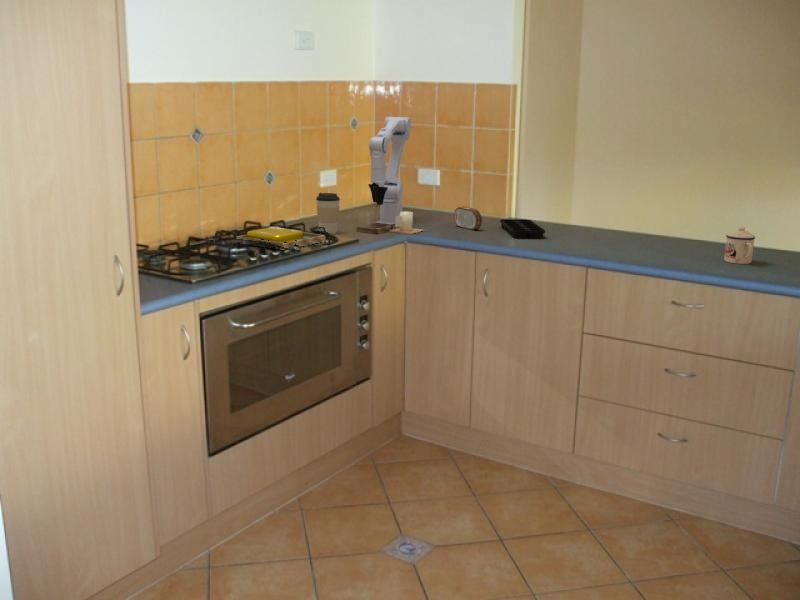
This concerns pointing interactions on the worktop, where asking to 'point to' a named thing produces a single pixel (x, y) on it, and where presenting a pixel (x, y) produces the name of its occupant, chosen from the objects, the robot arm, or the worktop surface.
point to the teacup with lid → (739, 246)
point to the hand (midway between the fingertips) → (377, 203)
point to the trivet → (406, 231)
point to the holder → (375, 229)
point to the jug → (404, 221)
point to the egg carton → (522, 228)
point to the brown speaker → (468, 218)
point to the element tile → (276, 234)
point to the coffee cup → (328, 211)
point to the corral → (303, 242)
